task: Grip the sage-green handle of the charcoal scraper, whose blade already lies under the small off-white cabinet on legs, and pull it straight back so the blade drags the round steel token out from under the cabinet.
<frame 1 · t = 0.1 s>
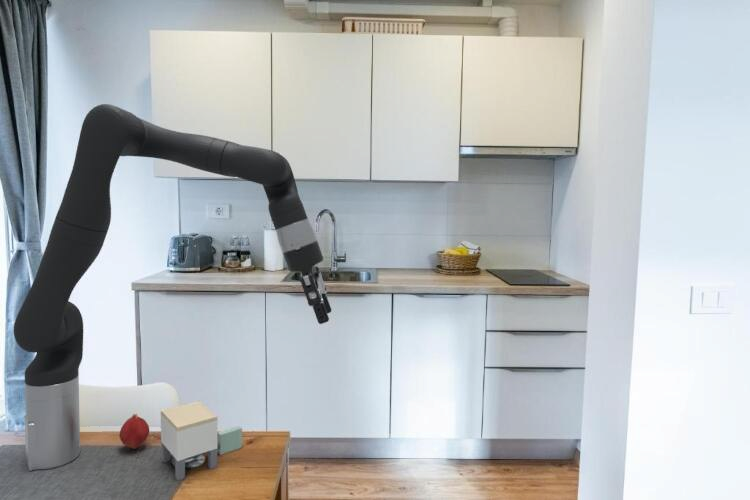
hand: (325, 317, 98), 31 cm above the table, tool tilted 20°, fingers open, 8 cm apart
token: (193, 463, 98), on the table
onion: (134, 449, 103), on the table
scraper: (229, 449, 104), on the table
cabinet: (189, 463, 98), on the table
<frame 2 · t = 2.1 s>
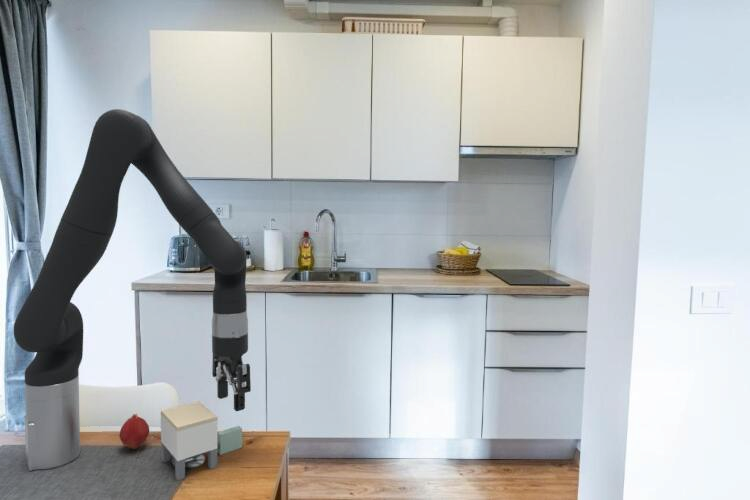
hand: (230, 403, 103), 11 cm above the table, tool pointing down, fingers open, 8 cm apart
nothing on the table moved.
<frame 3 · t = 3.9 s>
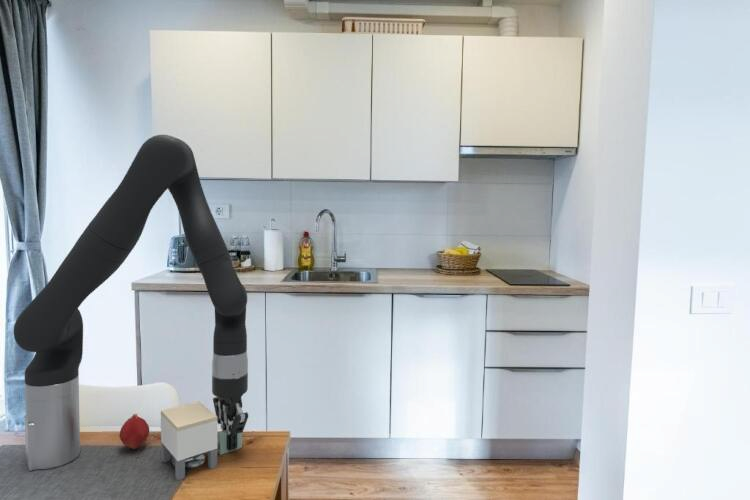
hand: (229, 446, 103), 1 cm above the table, tool pointing down, fingers closed
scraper: (229, 449, 104), on the table, touching gripper
everything else where it was.
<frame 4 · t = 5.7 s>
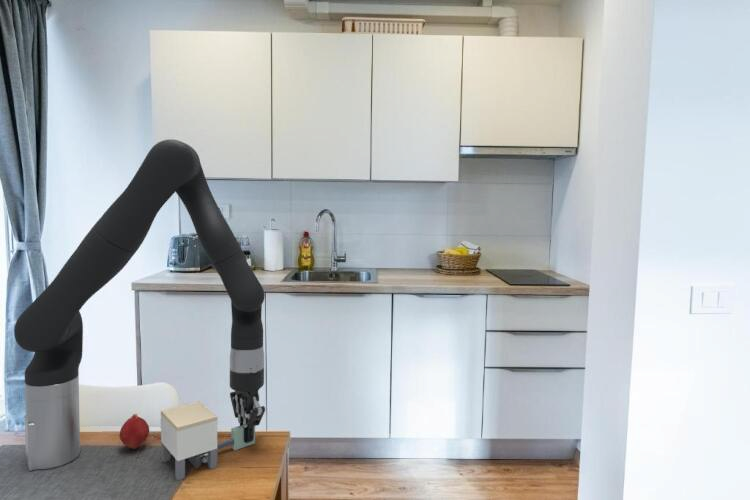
hand: (246, 439, 106), 1 cm above the table, tool pointing down, fingers closed
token: (205, 458, 100), on the table
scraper: (243, 445, 105), on the table, touching gripper
everything else where it was.
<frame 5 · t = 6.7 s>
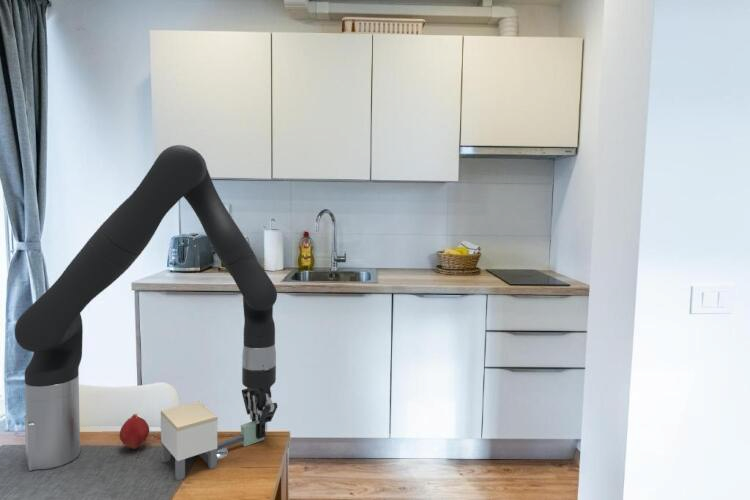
hand: (258, 435, 108), 1 cm above the table, tool pointing down, fingers closed
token: (217, 455, 102), on the table
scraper: (252, 441, 107), on the table, touching gripper
everything else where it was.
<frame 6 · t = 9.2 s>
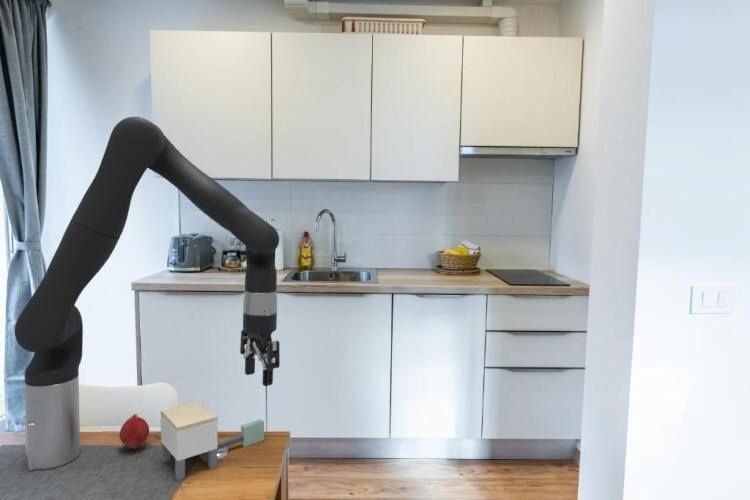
hand: (258, 379, 107), 14 cm above the table, tool pointing down, fingers open, 8 cm apart
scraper: (252, 442, 107), on the table
everything else where it was.
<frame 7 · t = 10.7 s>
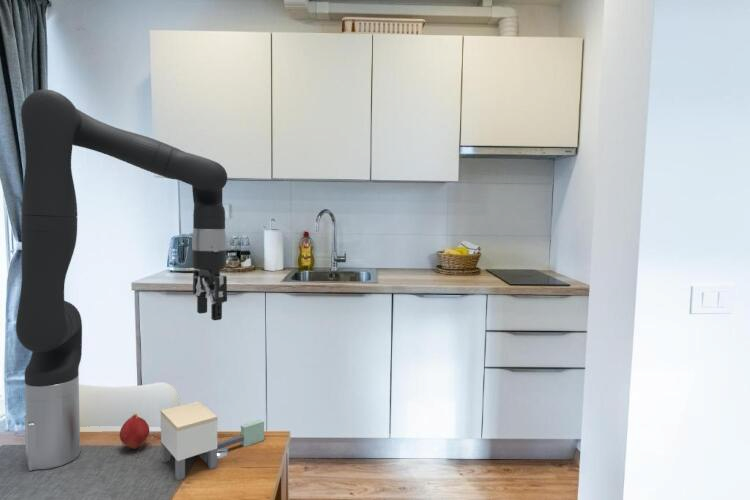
hand: (209, 316, 110), 28 cm above the table, tool pointing down, fingers open, 8 cm apart
nothing on the table moved.
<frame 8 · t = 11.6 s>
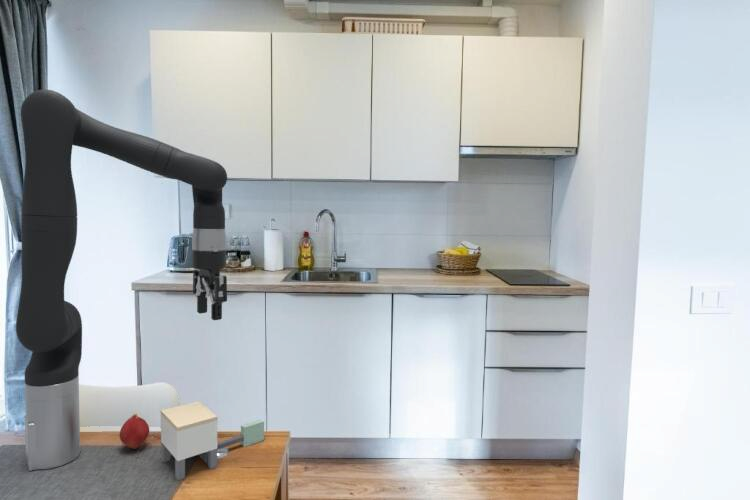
hand: (209, 316, 110), 28 cm above the table, tool pointing down, fingers open, 8 cm apart
nothing on the table moved.
at the end: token 2.9 cm from the target spot, on the table; the gripper is holding nothing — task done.
